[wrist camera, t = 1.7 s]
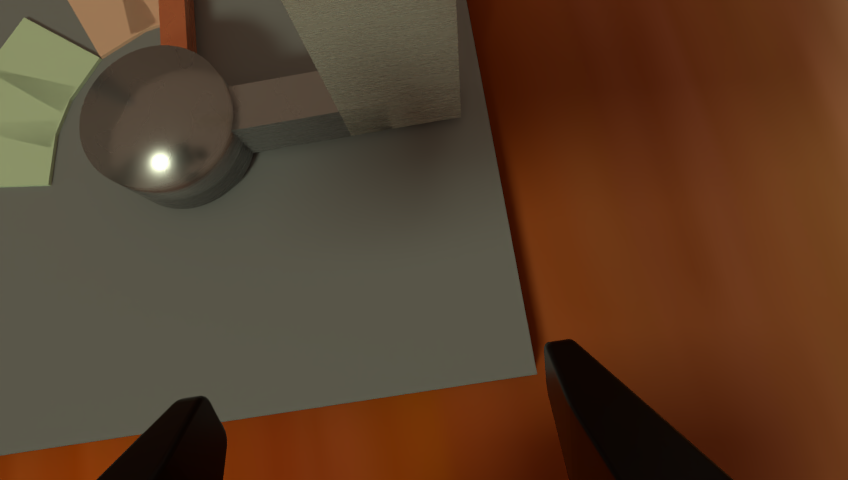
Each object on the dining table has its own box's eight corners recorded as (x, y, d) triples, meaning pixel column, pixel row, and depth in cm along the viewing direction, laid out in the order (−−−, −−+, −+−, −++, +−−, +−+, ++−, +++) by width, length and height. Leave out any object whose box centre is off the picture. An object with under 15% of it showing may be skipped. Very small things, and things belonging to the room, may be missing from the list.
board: (533, 373, 20) (537, 374, 19) (-72, 465, 21) (-103, 471, 20) (436, -144, 25) (434, -169, 24) (-47, -50, 26) (-71, -69, 25)
